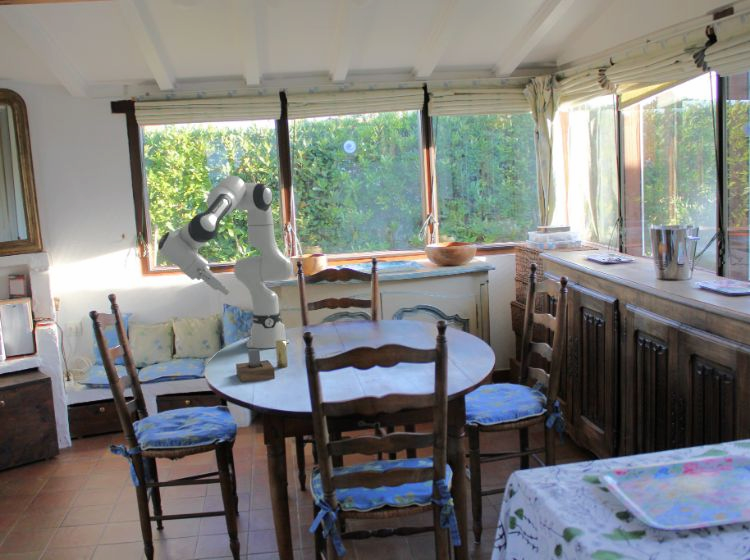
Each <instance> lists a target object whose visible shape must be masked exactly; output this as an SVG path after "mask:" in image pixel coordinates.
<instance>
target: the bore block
mask: <svg viewBox="0 0 750 560" xmlns="http://www.w3.org/2000/svg"><path fill="white" fill-rule="evenodd" d="M235 366H236V368H235V370H236V375H237V377H238V379H239V380H240V382H241V383H249V382H250V383H251V382H258V381H265V380H272V379H273V380H274V379H275V378H276V376H275V375H276V374H275V367H274V366H273V364H272V363H271V362H270V361H269V359H266V360H260V366H261V367H256V368H249V361H248V362H242V363H235Z"/></svg>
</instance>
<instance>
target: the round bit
mask: <svg viewBox="0 0 750 560" xmlns="http://www.w3.org/2000/svg"><path fill="white" fill-rule="evenodd" d="M287 350H288V348H287V344H286V340H278V341H276V347H275V354H276V368H277V369H285V368H287V367H288V365H289V364H288V351H287Z"/></svg>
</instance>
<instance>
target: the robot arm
mask: <svg viewBox="0 0 750 560" xmlns="http://www.w3.org/2000/svg"><path fill="white" fill-rule="evenodd" d="M273 194H274V193H273V190H272V189H271V187H270V186H269V185H268V184H266V183H262V182H261V183H260V182H259V183H256V182H244V180H243V179H242V178H241V177H239V176H236V175H228V176H227V177H225V178H224V179H223V180H221V181H220V182H219V183H217V185H216V186H215V187H214V188H213V189H212V190H211V192H210V193H209V195H208V196H207V199H206V205H207V209H206V211H204V212H201V213H197V214H196V215H194V216H193V217H192V219H191V220H189V221H188V222H187V223H186V224H185V225H183V226H182V227H181V228H179V229H177V230H176V229H175V230H174V231H167V232H166V233H165V234H163V236H162V237H161V239H160V240H159V242H158V244H157V245H158V246H157V249H158V251H159V252H160V254H161V255H162V256H163V257H164V258H165V259H166V260H168V261H169V262H170V263H171V264H172V265H174V266H177V267H178V268H179V269H180V271H181V272H182V273H183V274H184V275H186V276H187V277H189V278H190V279H191V280H193V281H194V280H195V279H196V280H197V281H200V280H202V281H203V282H204V283H205V284H207V285H208V286H209V287H210V288H212V289H213V290H214V291H217V290H218V291H219V292H221V293H222V294H224V295H225V296H227V295H228V294H229V293H230V291H229V290H228V289H227V288H226V287H225V286H224V285H223V283H222V281H221V280H220V279H219V278H218V277H217V276H216V275H215V274H214V272H213V271H212V270H210V268H211V267H210V266H209V261H208V260H207V259H206V258H205V257H204V256H203V255H201V254H200V253H199V252H197V250H199V249H200V248H201V247H203V246H204V245H205V244H206V243H209V241H211V240H213V239H214V238H215V237H216V235H217V233H218V230H219V224H220V222H221V221H222V219H223V218H224V217H226V216H228V215H230V213H232V212H233V211H236V210H237V211H247V214H246V215H247V216H246V223H247V236H248V237H247V238H248V239H247V240H248V243H249V245H251V246H252V247H253V248H255V249H257V250H259V251H260V252H261V254H262V256H247V257H242V258H239V259H237V260H236V261H235V263H234V265H233V274H234V276H235V277H236V279H237V280H238V281H239V282H241V283H242V284H243V285H244V286H245V287H246V289H247V290H248V292H249V294H250V297H251V302H252V311H253V312H252V325H251V328H250V329H248V330H247V336H249V337H248V338H247V340H246V341H247V342H246V348H248V349H249V348H250V349H256V348H258V349H273V348H276V341H278V340H286V345H287V344H290V340H289V339H287V338H286V327H285V324H284V323H282V322H281V317H282V316H281V312H280V304H279V296H278V294H277V293H276V292H275V291H274V290H272V289H270V288H268V287H267V285H266V284H265V283H266V282H267V283H269V282H272V283H273V282H282V281H286V280H289V279H290V278H291V277H292V276H293V274H294V264H293V262H292V260H291V258H289V257H288V256H287V255H285V254H284V253H283V252H282V251H281V249H280V248H279V247H278V244H277V241H276V235H275V226H274V216H273V211H272V207H271V205H272V203H273V200H274V195H273Z"/></svg>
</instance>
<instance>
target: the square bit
mask: <svg viewBox="0 0 750 560" xmlns="http://www.w3.org/2000/svg"><path fill="white" fill-rule="evenodd" d="M247 357H248V362H249V368H256V367H261V366H260V361H261V354H260V348H250V349H249V348H248V349H247Z"/></svg>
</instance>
